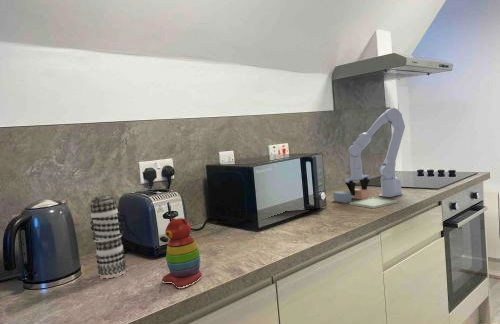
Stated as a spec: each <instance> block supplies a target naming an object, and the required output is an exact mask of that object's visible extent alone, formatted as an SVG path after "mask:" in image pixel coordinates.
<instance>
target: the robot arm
mask: <svg viewBox="0 0 500 324" xmlns="http://www.w3.org/2000/svg"><path fill="white" fill-rule="evenodd" d="M388 123H389V124H390V125H391V126H392V128H393V130H392V134H391V138H390V142H389V144H388V148H387V150H386V156H385V159H384V161H383V163H382V165H380V167H379V174H380V175H381V176H380V177H379V178H380V186H381V193H380V194H378V195H377V196H378V197H386V198H391V197H392V198H393V197H396V196H401V195H404V193H403V191H402V182H401V179H400V178H399V177H397V176H396V169H395V168H396V161H397V157H398V153H399V149H400V147H401V143H402V139H403V136H404V133H405V128H406V125H405V122H404V119H403V114H402V112H401V111H400V110H399V109H397V108H395V107H391V108H388V109H385V111H384V112H383V113H381V114H380V115H379V116H378V118H376V119H375V121H374V123H372V125H371V126H370V127H369V129H368V130H367V131H366V132H362V133H360V134H359V135H358V137H357V139H356V140H355V141H353V142H352V145H350V146H349V147H348V154H349V165H350V167H349V168H350V175H351V176H349V177H348V178H347V177H346V178H344V182H345V185H346V186H347V188H348V190H349V193H351V195H352V196H355V188H356V181H359V183H360V187H361V188H360V189H365V190H368V185H369V183H370V181H371V180H370V175H369V174H363V164H362V157H361V154H362V151H363V150H364V149H365V148H366V147H367V146H368V145H369V143H370V142H371V141H372V136H373V135H374V134H375V133H376V132H377V131H378V129H380V128H381V126H382V125H384V124H388Z"/></svg>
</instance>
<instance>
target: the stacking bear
mask: <svg viewBox="0 0 500 324" xmlns="http://www.w3.org/2000/svg"><path fill="white" fill-rule="evenodd" d="M191 228H192V227H191V223H189V221H188V220H187V219H186V218H182V217H181V218H172V217H171V219H170V221H169V222H168V224H167V226H166V228H165V232H164V233H165V235H166V237H167V238H168V239H169V240H168V242H167V246H166V254H165V255H166V256H165V261H166V265H167V269H168V270H169V273H167V274H165V275H163V277H162V278H161V279H162V280H161V282H162V281H164V282H172V283H174V284H175V285H174V287H175V286H177V287H183V286H186V285H189V284H192V283H193V282H195V281H197V280H198V279H199V278H200V277H201V276H203V275H202V272H201V271H200V268H201V266H200V265H201V253H200V250H199V247H198V244H197V242H196V240H195V239H194V238H193V237H192V236H190V235H191V231H192V229H191ZM201 278H202V277H201Z"/></svg>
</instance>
